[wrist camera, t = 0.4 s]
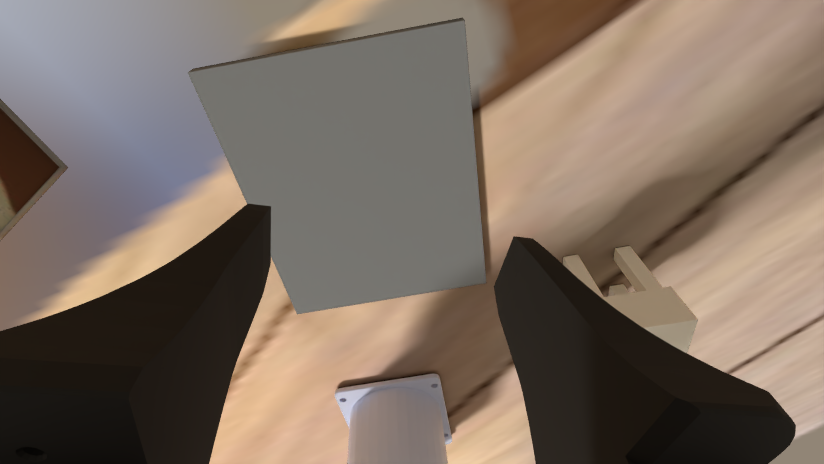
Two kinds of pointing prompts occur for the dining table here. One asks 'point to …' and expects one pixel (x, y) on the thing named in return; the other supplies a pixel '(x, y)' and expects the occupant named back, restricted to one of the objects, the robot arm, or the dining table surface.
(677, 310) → the cream block with pegs
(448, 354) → the dining table surface
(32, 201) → the food container
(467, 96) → the mat
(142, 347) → the robot arm
